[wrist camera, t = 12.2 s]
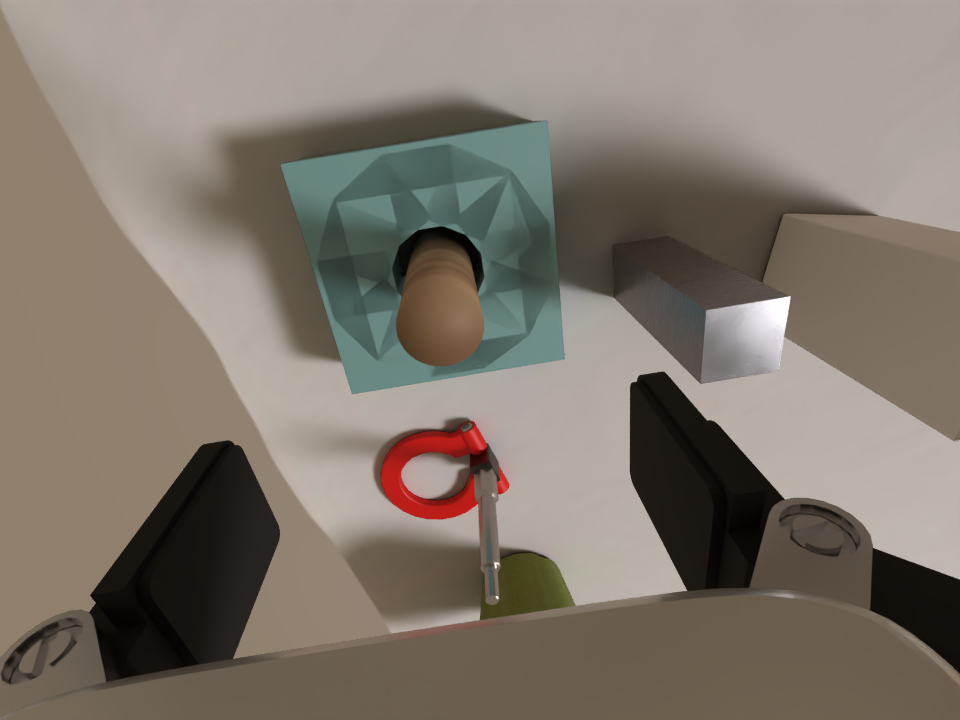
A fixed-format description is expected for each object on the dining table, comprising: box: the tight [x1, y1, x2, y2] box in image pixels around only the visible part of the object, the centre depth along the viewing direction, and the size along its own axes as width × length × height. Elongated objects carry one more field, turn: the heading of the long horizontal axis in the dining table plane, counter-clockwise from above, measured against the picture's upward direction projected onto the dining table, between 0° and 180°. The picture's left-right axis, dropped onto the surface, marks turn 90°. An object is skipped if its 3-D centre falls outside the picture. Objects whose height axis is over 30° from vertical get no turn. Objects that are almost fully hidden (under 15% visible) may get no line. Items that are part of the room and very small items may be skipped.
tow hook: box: [381, 421, 509, 605], centre depth 32 cm, size 8×13×9 cm
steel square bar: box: [613, 237, 791, 384], centre depth 26 cm, size 4×4×12 cm
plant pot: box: [480, 553, 576, 620], centre depth 39 cm, size 12×12×11 cm
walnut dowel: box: [396, 226, 484, 367], centre depth 25 cm, size 4×4×12 cm
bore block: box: [280, 121, 565, 394], centre depth 28 cm, size 13×13×4 cm
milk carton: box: [762, 214, 960, 441], centre depth 24 cm, size 7×7×19 cm
